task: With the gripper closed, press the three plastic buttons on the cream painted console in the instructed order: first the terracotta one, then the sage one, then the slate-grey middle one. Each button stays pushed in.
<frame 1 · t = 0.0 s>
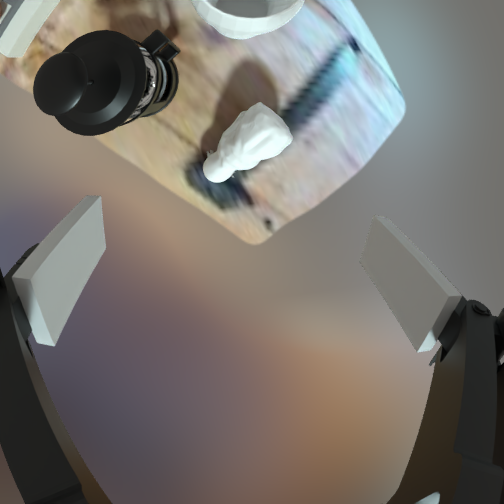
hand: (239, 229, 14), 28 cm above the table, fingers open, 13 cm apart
french press: (146, 80, 33), on the table
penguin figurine: (239, 142, 39), on the table
cup: (240, 13, 30), on the table
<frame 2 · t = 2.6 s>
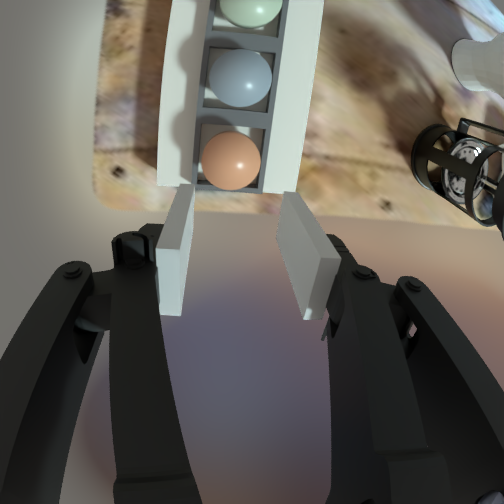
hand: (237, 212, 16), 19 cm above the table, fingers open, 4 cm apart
button slate: (239, 78, 22), point 7 cm above the table, slide at 0.0 cm
button sage: (250, 1, 19), point 7 cm above the table, slide at 0.0 cm
french press: (437, 153, 34), on the table
button terracotta: (230, 159, 26), point 7 cm above the table, slide at 0.0 cm
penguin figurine: (499, 169, 36), on the table
cup: (469, 64, 27), on the table
console: (236, 80, 28), on the table
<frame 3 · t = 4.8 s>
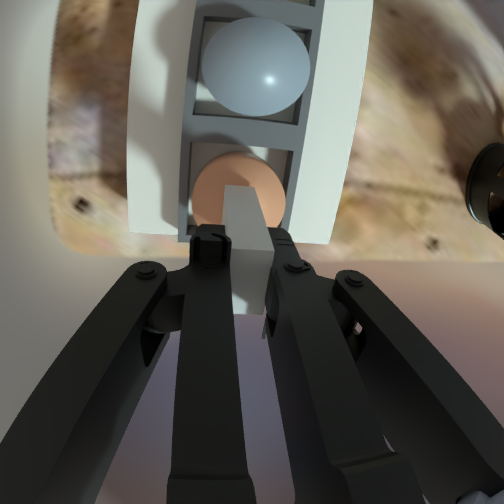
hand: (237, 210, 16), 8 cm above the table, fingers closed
button slate: (254, 66, 13), point 7 cm above the table, slide at 0.0 cm
french press: (493, 179, 24), on the table
button terracotta: (237, 198, 17), point 6 cm above the table, slide at 0.5 cm, touching gripper
console: (245, 73, 19), on the table
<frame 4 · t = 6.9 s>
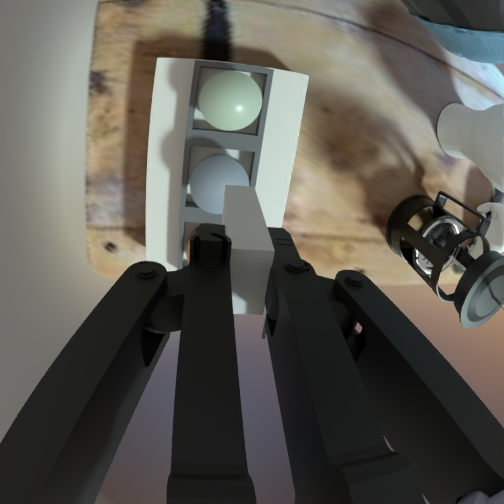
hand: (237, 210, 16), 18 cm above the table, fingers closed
button slate: (219, 183, 26), point 7 cm above the table, slide at 0.0 cm
button sage: (230, 100, 23), point 7 cm above the table, slide at 0.0 cm
french press: (414, 222, 39), on the table
button terracotta: (211, 249, 31), point 5 cm above the table, slide at 1.5 cm
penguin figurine: (478, 227, 41), on the table
cup: (455, 129, 32), on the table
console: (218, 166, 32), on the table
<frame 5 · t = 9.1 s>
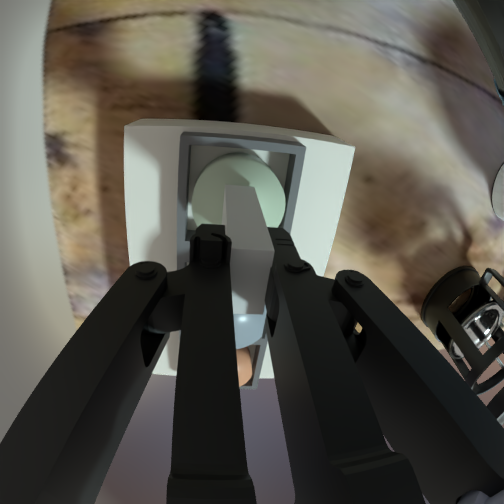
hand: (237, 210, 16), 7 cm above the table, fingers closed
button slate: (227, 313, 20), point 7 cm above the table, slide at 0.0 cm
button sage: (237, 199, 17), point 6 cm above the table, slide at 1.1 cm, touching gripper
french press: (452, 293, 31), on the table
button terracotta: (221, 364, 25), point 5 cm above the table, slide at 1.5 cm
console: (225, 258, 25), on the table
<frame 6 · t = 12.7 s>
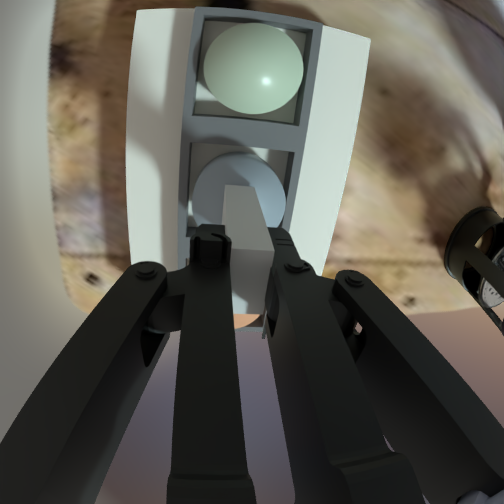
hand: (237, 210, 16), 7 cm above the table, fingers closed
button slate: (238, 198, 17), point 6 cm above the table, slide at 0.8 cm, touching gripper
button sage: (252, 68, 14), point 5 cm above the table, slide at 1.5 cm
french press: (474, 239, 28), on the table
button terracotta: (227, 294, 21), point 5 cm above the table, slide at 1.5 cm
console: (234, 170, 22), on the table
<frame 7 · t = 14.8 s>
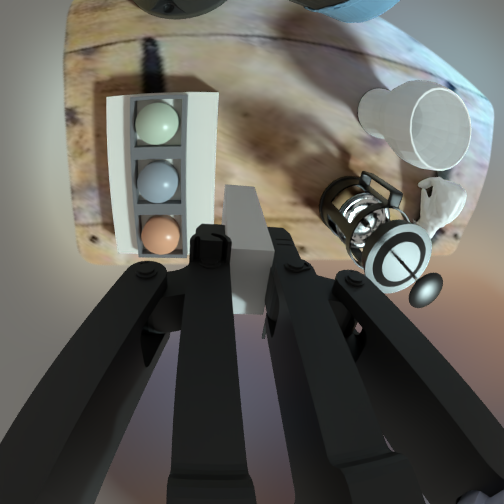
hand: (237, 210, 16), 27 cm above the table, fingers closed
button slate: (158, 181, 36), point 5 cm above the table, slide at 1.5 cm
button sage: (157, 123, 32), point 5 cm above the table, slide at 1.5 cm
french press: (347, 201, 46), on the table
button terracotta: (160, 234, 39), point 5 cm above the table, slide at 1.5 cm
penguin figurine: (423, 202, 47), on the table
cup: (380, 113, 39), on the table
console: (165, 170, 40), on the table
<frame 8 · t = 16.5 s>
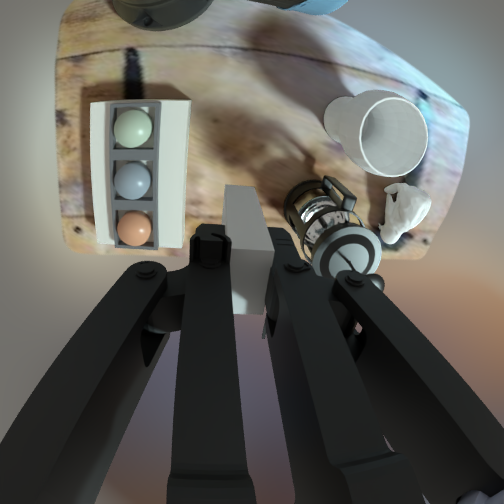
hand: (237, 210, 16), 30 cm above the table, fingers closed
button slate: (133, 180, 39), point 5 cm above the table, slide at 1.5 cm
button sage: (133, 128, 35), point 5 cm above the table, slide at 1.5 cm
french press: (312, 203, 49), on the table
button terracotta: (134, 227, 43), point 5 cm above the table, slide at 1.5 cm
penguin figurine: (390, 206, 51), on the table
cup: (346, 120, 43), on the table
console: (141, 170, 44), on the table
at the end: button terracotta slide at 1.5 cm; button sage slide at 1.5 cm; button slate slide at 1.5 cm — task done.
